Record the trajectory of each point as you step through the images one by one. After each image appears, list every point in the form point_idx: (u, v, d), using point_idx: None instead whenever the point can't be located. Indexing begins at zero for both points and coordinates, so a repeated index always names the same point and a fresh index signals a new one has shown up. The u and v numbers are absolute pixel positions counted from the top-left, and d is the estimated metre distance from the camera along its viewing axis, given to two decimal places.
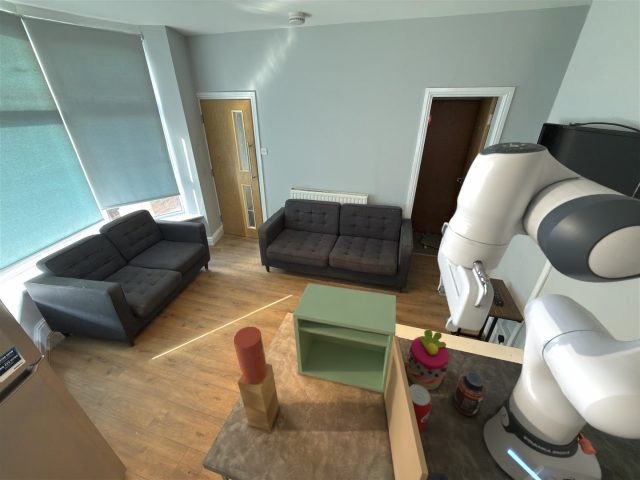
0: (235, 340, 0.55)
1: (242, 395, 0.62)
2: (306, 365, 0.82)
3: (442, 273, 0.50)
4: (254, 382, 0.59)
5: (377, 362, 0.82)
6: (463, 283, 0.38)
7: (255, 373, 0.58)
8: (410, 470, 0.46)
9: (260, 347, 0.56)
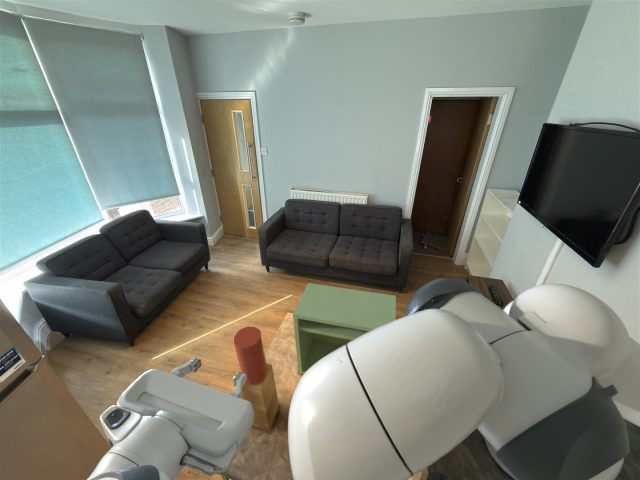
0: (235, 340, 0.55)
1: (242, 395, 0.62)
2: (306, 365, 0.82)
3: None
4: (254, 382, 0.59)
5: None
6: None
7: (255, 373, 0.58)
8: None
9: (260, 347, 0.56)
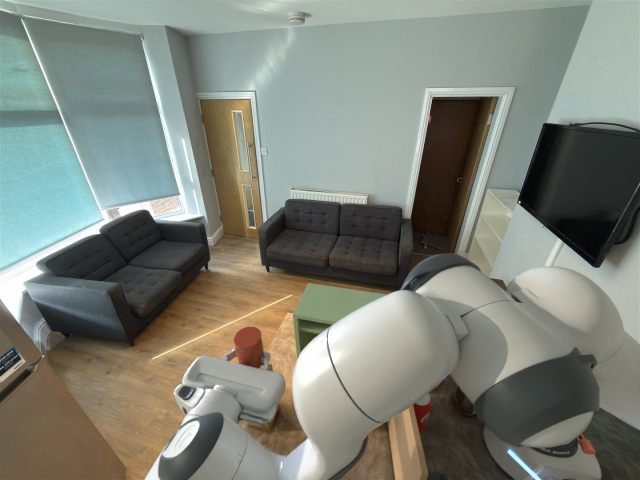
0: (235, 340, 0.55)
1: None
2: None
3: None
4: None
5: None
6: None
7: None
8: (410, 470, 0.46)
9: (260, 347, 0.56)
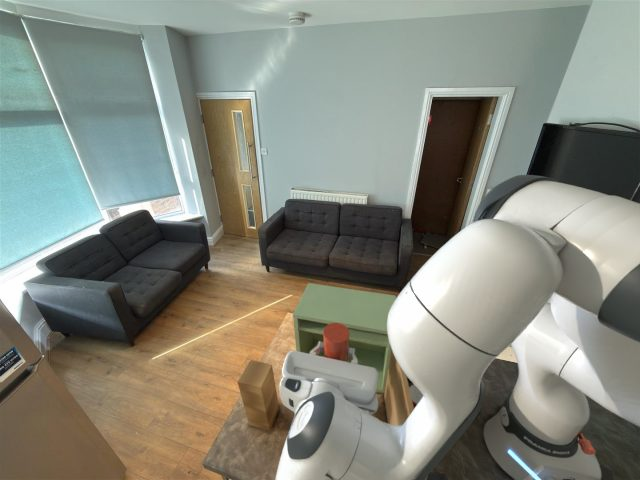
0: (326, 335, 0.57)
1: (242, 395, 0.62)
2: None
3: None
4: None
5: (377, 362, 0.82)
6: None
7: None
8: None
9: (348, 342, 0.58)
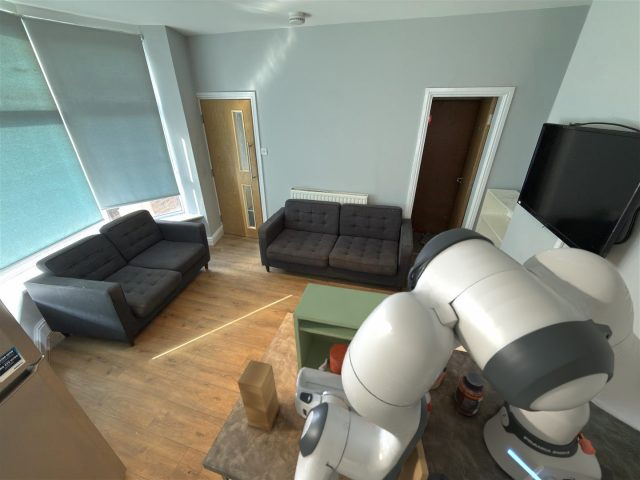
0: (332, 355, 0.69)
1: (242, 395, 0.62)
2: (306, 365, 0.82)
3: None
4: None
5: None
6: None
7: None
8: (410, 470, 0.46)
9: None
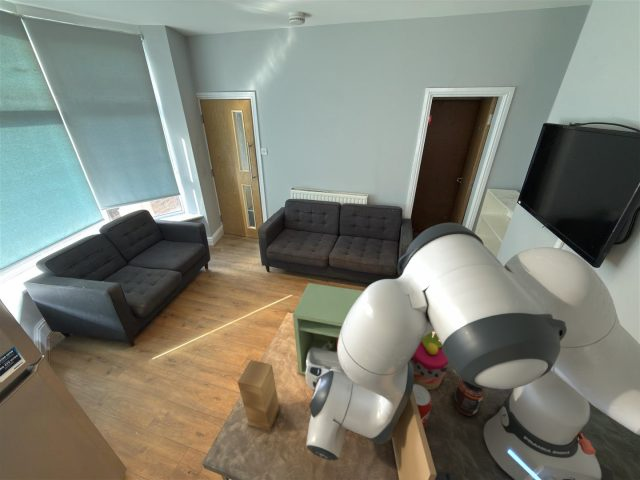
0: None
1: (242, 395, 0.62)
2: (306, 365, 0.82)
3: None
4: None
5: None
6: None
7: None
8: (416, 471, 0.45)
9: None
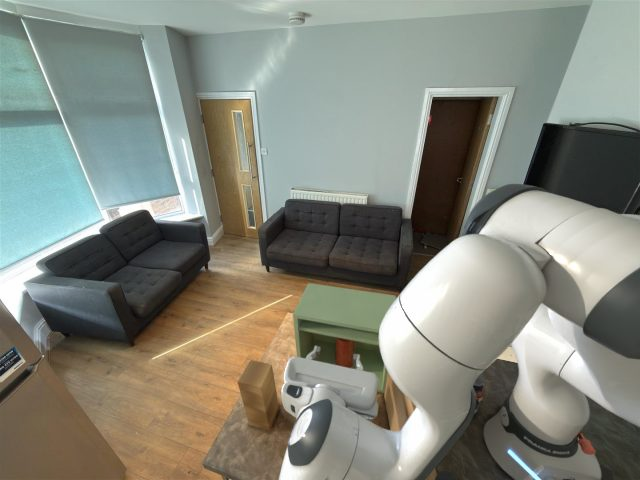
0: None
1: (242, 395, 0.62)
2: None
3: None
4: (347, 367, 0.80)
5: (377, 362, 0.82)
6: None
7: (349, 360, 0.79)
8: None
9: (354, 341, 0.78)
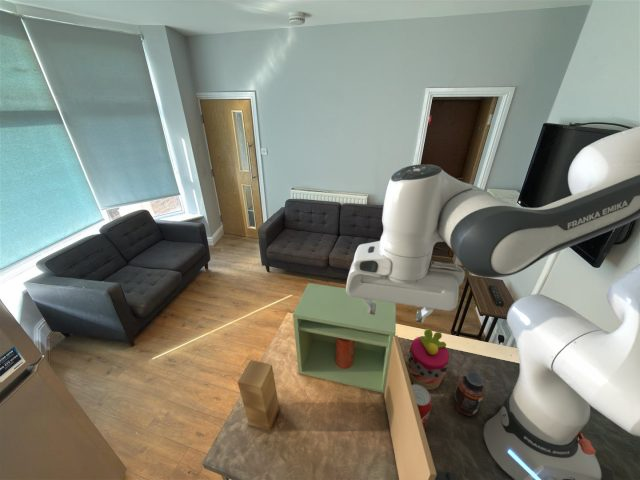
0: None
1: (242, 395, 0.62)
2: (306, 365, 0.82)
3: (381, 297, 0.50)
4: (347, 367, 0.80)
5: (377, 362, 0.82)
6: (444, 282, 0.45)
7: (349, 360, 0.79)
8: (416, 471, 0.45)
9: (354, 341, 0.78)
